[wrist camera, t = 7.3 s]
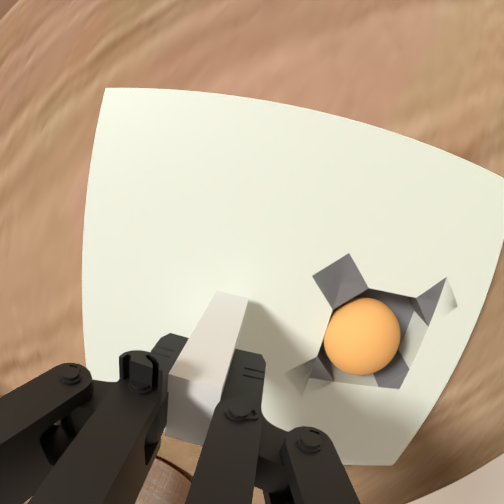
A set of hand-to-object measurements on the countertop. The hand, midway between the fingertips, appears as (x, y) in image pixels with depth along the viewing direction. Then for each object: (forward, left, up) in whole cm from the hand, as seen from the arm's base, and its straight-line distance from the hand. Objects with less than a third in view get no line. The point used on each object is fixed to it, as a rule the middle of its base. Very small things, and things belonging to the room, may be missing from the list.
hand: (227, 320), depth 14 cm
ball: (+7, 0, -1) cm, 7 cm away
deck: (+2, 0, -3) cm, 4 cm away
